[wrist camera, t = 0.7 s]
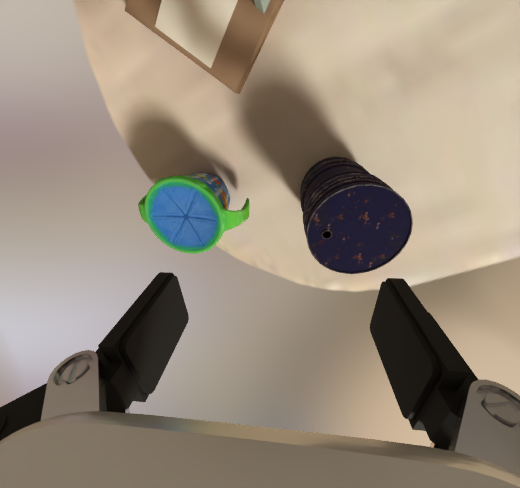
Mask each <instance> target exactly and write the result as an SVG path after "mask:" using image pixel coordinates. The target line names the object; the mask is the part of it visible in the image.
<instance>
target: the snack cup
mask: <svg viewBox="0 0 520 488" xmlns="http://www.w3.org/2000/svg"><path fill="white" fill-rule="evenodd" d="M229 201H230V196H229V193H228V190H227V187H226V185H225V184H224V183H223V182H222V181H221V180H220V179H219V177H217V176H215V175H211V174H209V173H198V174H192V175H187V176H182V175H179V176H171V177H167V178H161V179H159V180H158V181H156V182H155V185H153V187H151V189H150V190H149V192H148V194H147V195H146V196H145V197H143V198H142V200H141V201H140V202H139V203H138V206H139V211H140V214H141V217H142V219H143V220H144V221H145V222H147V223H148V224H149V226H150V228H151V230H152V231H153V232H154V234H155V235H156V236H157V237H158V238H159V239H160V240H161V241H162V242H164V243H165V244H166V245H168V246H169V247H171V248H173V249H175V250H178V251H181V252H184V253H201V252H204V251H208V250H210V249H211V248H212V247H213V246H214V245H215V244H216V243H217V242H218V241H219V239H220V238H221V236H222V234H223V232H224V231H226V230H229V229H232V228H234V227H236V226H238V225H240V224H242V223H243V222H244V221H246V220H247V219H248V217H249V199H248V198H247V200H246V203H245V205H244V206H243V208H242V209H241V210H239V211H230V210H228V207H229Z"/></svg>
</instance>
